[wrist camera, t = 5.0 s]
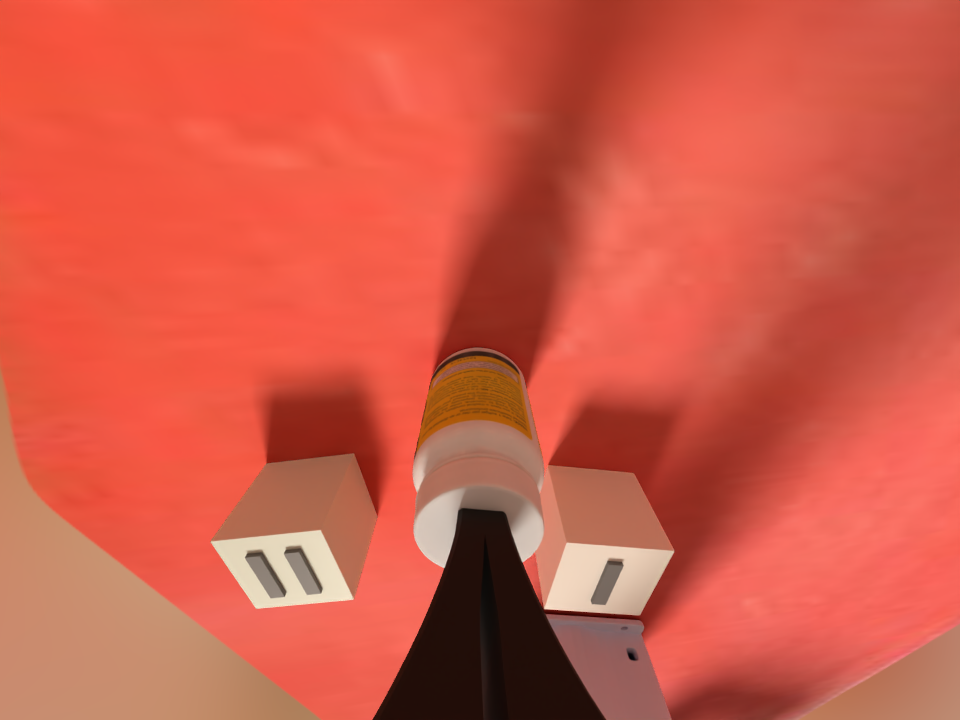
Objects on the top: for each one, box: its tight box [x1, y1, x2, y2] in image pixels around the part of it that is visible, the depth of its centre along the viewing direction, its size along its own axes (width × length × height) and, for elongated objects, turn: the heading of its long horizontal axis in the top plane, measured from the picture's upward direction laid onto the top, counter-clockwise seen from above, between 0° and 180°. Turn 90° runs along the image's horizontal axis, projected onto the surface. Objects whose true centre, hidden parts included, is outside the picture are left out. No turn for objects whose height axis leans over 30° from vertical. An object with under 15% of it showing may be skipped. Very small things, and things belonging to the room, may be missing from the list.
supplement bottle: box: [413, 348, 544, 568], centre depth 15 cm, size 5×5×8 cm
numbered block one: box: [535, 465, 674, 615], centre depth 20 cm, size 5×5×5 cm
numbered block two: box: [210, 453, 378, 609], centre depth 20 cm, size 5×5×5 cm
